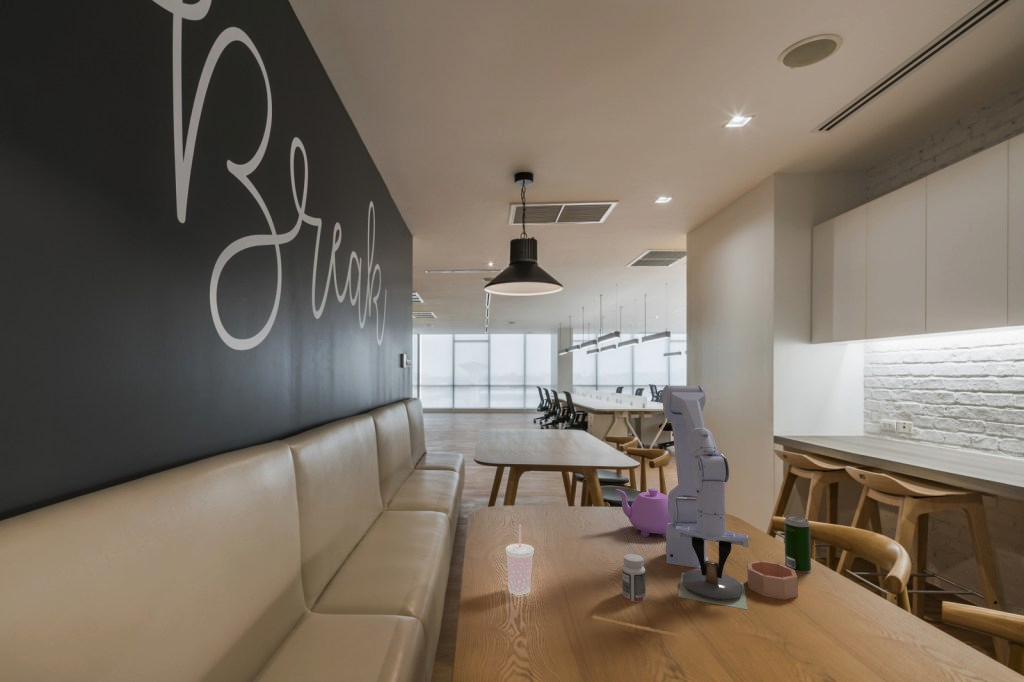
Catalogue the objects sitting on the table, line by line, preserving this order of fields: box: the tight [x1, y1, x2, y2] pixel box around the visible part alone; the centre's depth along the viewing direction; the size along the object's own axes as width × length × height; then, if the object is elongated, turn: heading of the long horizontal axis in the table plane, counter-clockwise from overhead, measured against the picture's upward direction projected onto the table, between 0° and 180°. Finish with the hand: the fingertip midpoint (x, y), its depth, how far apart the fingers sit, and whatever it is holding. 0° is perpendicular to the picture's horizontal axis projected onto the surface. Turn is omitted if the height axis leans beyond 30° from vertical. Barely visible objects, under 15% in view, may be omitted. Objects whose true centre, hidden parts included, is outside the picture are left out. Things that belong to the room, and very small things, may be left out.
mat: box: [677, 572, 748, 610], centre depth 103 cm, size 13×13×1 cm
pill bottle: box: [621, 553, 647, 603], centre depth 100 cm, size 5×5×8 cm
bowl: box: [746, 560, 799, 600], centre depth 104 cm, size 9×9×4 cm
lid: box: [682, 560, 743, 599], centre depth 103 cm, size 12×12×5 cm
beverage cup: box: [505, 524, 535, 595], centre depth 103 cm, size 6×6×14 cm
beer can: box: [783, 515, 812, 574], centre depth 115 cm, size 5×5×12 cm
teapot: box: [615, 487, 672, 538], centre depth 141 cm, size 20×14×12 cm
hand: (711, 575), depth 103 cm, fingers closed on lid, 3 cm apart
